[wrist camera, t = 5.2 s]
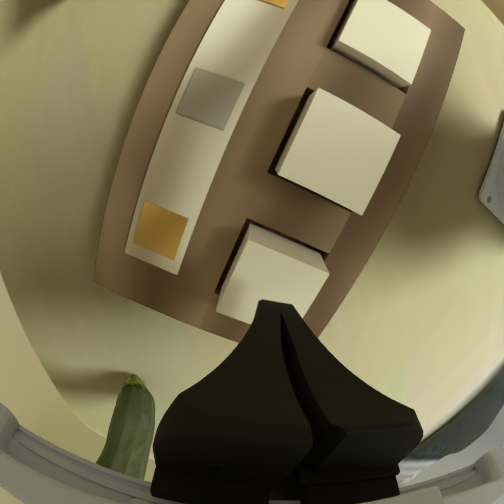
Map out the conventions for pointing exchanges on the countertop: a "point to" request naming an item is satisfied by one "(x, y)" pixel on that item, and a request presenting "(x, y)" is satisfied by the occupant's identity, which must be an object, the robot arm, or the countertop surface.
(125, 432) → the vegetable
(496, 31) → the countertop surface
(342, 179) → the middle button
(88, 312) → the countertop surface
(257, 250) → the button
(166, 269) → the button board
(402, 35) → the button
